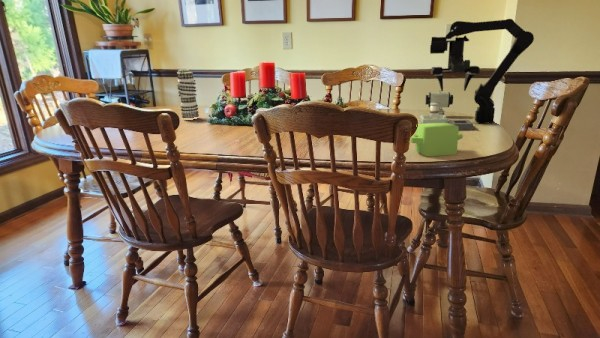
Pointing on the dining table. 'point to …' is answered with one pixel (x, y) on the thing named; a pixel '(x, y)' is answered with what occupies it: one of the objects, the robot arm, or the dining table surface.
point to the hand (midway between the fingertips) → (453, 91)
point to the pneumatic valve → (439, 100)
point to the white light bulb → (434, 110)
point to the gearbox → (436, 139)
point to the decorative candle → (187, 93)
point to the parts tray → (426, 119)
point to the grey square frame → (462, 124)
